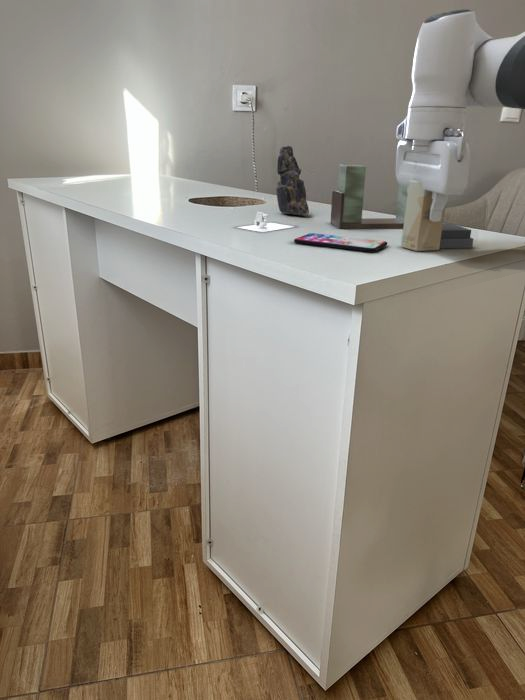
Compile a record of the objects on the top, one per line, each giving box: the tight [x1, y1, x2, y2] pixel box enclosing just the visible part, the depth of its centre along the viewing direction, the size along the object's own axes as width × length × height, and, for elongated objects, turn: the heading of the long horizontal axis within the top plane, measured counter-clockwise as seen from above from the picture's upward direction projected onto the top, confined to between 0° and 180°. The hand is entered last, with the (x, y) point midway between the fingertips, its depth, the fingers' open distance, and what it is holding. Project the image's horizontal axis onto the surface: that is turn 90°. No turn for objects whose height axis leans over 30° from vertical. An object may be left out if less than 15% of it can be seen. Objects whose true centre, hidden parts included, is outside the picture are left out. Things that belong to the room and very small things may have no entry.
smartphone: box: [293, 232, 388, 253], centre depth 96 cm, size 8×1×15 cm
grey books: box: [439, 222, 474, 249], centre depth 99 cm, size 6×8×3 cm
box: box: [400, 181, 447, 252], centre depth 93 cm, size 5×4×11 cm
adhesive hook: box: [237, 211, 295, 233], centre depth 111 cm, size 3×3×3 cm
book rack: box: [330, 164, 408, 230], centre depth 115 cm, size 19×7×12 cm, turn 98°
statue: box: [275, 145, 310, 216], centre depth 128 cm, size 6×12×15 cm, turn 28°
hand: (423, 217), depth 93 cm, fingers open, 6 cm apart
